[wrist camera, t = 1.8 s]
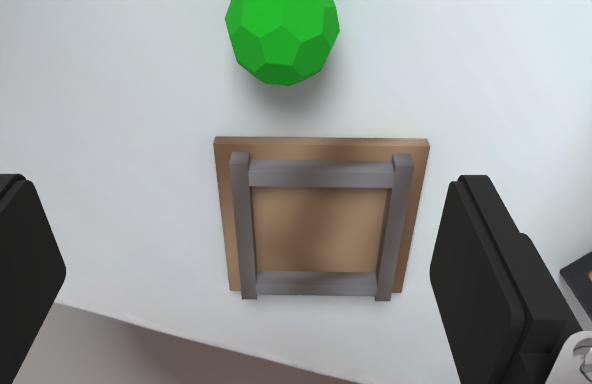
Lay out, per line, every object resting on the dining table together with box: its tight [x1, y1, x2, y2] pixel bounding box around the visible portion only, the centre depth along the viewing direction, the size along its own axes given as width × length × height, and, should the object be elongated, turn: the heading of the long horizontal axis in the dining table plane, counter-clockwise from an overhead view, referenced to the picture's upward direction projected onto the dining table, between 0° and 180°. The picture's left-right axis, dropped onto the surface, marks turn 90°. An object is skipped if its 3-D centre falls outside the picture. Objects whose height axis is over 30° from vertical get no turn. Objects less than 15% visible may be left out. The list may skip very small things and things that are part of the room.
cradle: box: [213, 137, 430, 301], centre depth 31 cm, size 12×12×2 cm
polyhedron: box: [225, 0, 340, 86], centre depth 22 cm, size 5×5×5 cm
